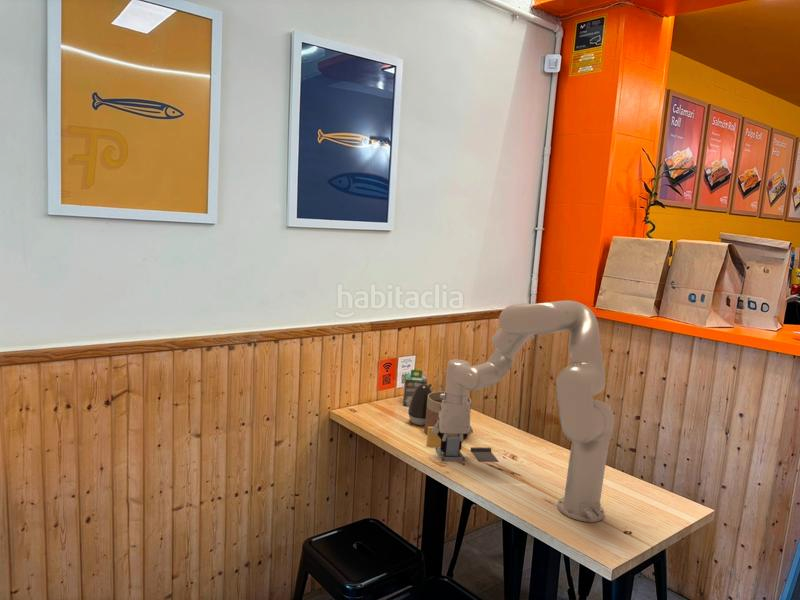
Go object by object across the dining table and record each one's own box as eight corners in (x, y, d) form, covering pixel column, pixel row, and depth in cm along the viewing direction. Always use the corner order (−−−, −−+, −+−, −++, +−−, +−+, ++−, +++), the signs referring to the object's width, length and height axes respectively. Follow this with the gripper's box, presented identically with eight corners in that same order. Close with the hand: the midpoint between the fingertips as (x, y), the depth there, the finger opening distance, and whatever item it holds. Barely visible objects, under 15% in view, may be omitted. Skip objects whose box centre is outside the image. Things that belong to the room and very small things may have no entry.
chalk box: (424, 401, 249) (427, 367, 247) (425, 408, 240) (428, 373, 238) (402, 399, 249) (405, 365, 247) (402, 406, 240) (406, 371, 238)
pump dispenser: (439, 423, 224) (442, 384, 221) (425, 430, 215) (429, 390, 213) (416, 416, 229) (419, 378, 227) (402, 423, 220) (405, 384, 218)
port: (470, 462, 189) (473, 441, 188) (435, 462, 187) (437, 441, 186) (459, 446, 202) (462, 427, 201) (426, 446, 199) (428, 426, 198)
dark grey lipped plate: (498, 462, 191) (499, 458, 191) (478, 462, 189) (479, 458, 189) (489, 451, 200) (490, 447, 199) (470, 451, 198) (470, 447, 198)
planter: (436, 444, 202) (440, 406, 200) (416, 428, 216) (420, 392, 214) (475, 440, 209) (479, 403, 207) (454, 425, 223) (457, 390, 221)
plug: (458, 455, 190) (460, 438, 189) (446, 455, 189) (448, 437, 188) (454, 449, 195) (455, 432, 194) (442, 449, 194) (444, 432, 193)
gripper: (433, 400, 184) (428, 456, 187) (484, 402, 187) (478, 456, 190) (428, 393, 191) (423, 446, 194) (476, 395, 195) (471, 447, 197)
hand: (450, 451), depth 192 cm, fingers closed on plug, 3 cm apart
